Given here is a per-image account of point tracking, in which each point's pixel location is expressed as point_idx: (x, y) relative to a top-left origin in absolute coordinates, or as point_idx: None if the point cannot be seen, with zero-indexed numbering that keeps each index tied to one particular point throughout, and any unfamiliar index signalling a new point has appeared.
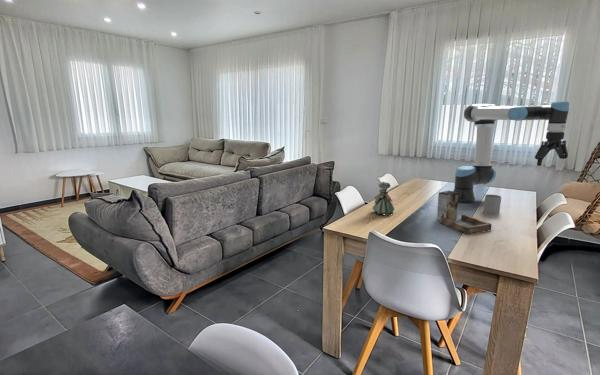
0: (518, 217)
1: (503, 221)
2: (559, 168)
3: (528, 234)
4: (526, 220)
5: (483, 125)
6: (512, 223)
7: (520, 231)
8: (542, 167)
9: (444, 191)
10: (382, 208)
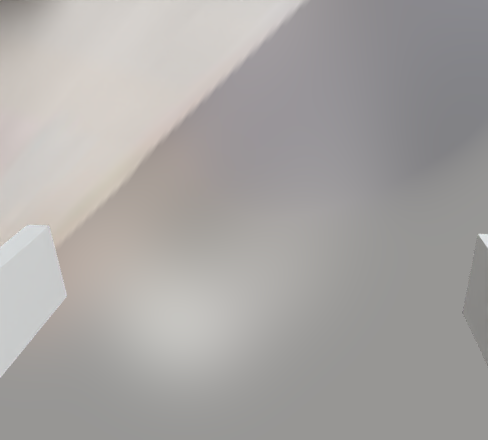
0: (171, 31)
1: (26, 73)
2: (479, 311)
3: None
4: (172, 97)
5: None
6: (54, 118)
7: (18, 221)
8: (18, 344)
9: None
10: None
